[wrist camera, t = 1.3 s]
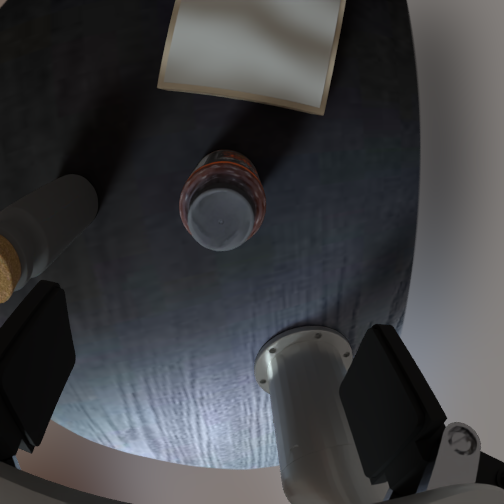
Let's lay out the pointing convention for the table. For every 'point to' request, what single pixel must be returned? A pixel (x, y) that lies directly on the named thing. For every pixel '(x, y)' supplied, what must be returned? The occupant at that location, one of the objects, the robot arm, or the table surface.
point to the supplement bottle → (223, 201)
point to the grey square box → (254, 50)
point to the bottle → (42, 229)
